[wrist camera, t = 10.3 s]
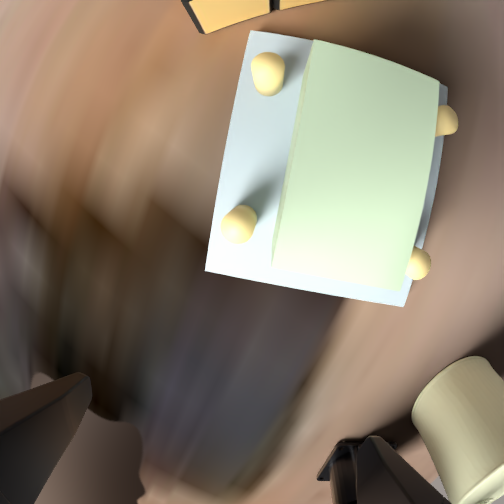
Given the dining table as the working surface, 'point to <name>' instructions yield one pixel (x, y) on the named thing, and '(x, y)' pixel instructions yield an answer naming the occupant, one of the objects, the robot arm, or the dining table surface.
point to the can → (465, 429)
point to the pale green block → (356, 168)
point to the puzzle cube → (232, 11)
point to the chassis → (273, 171)
